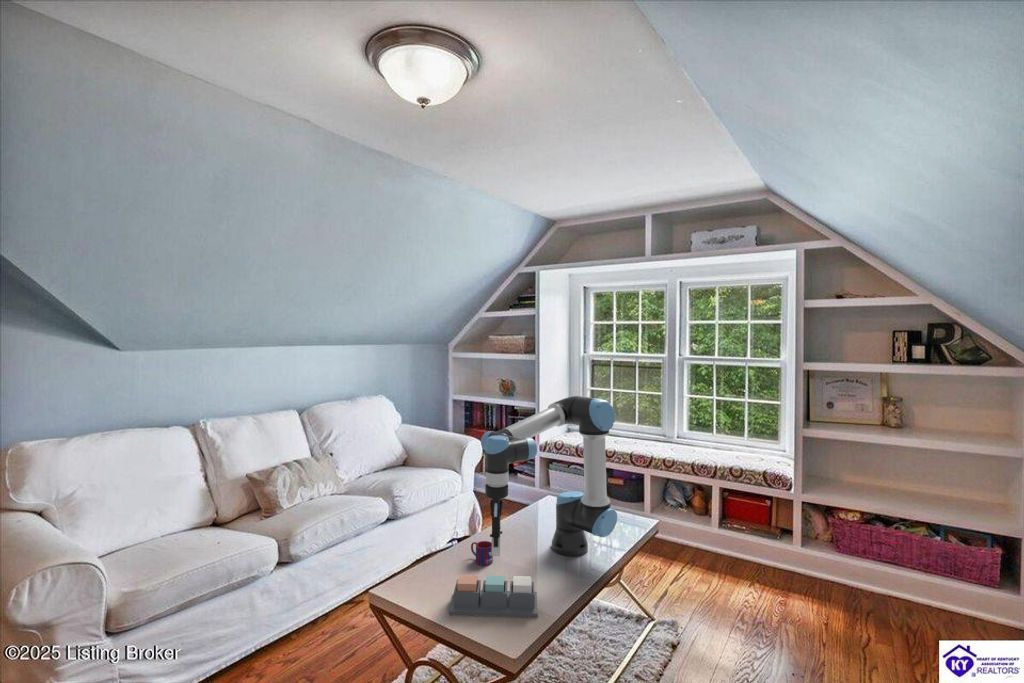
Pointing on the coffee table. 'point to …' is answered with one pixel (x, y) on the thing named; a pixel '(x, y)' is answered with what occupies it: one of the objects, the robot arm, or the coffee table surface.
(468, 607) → the console
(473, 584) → the terracotta key
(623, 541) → the coffee table surface
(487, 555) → the mug
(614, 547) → the coffee table surface
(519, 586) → the ivory key
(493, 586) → the teal key
